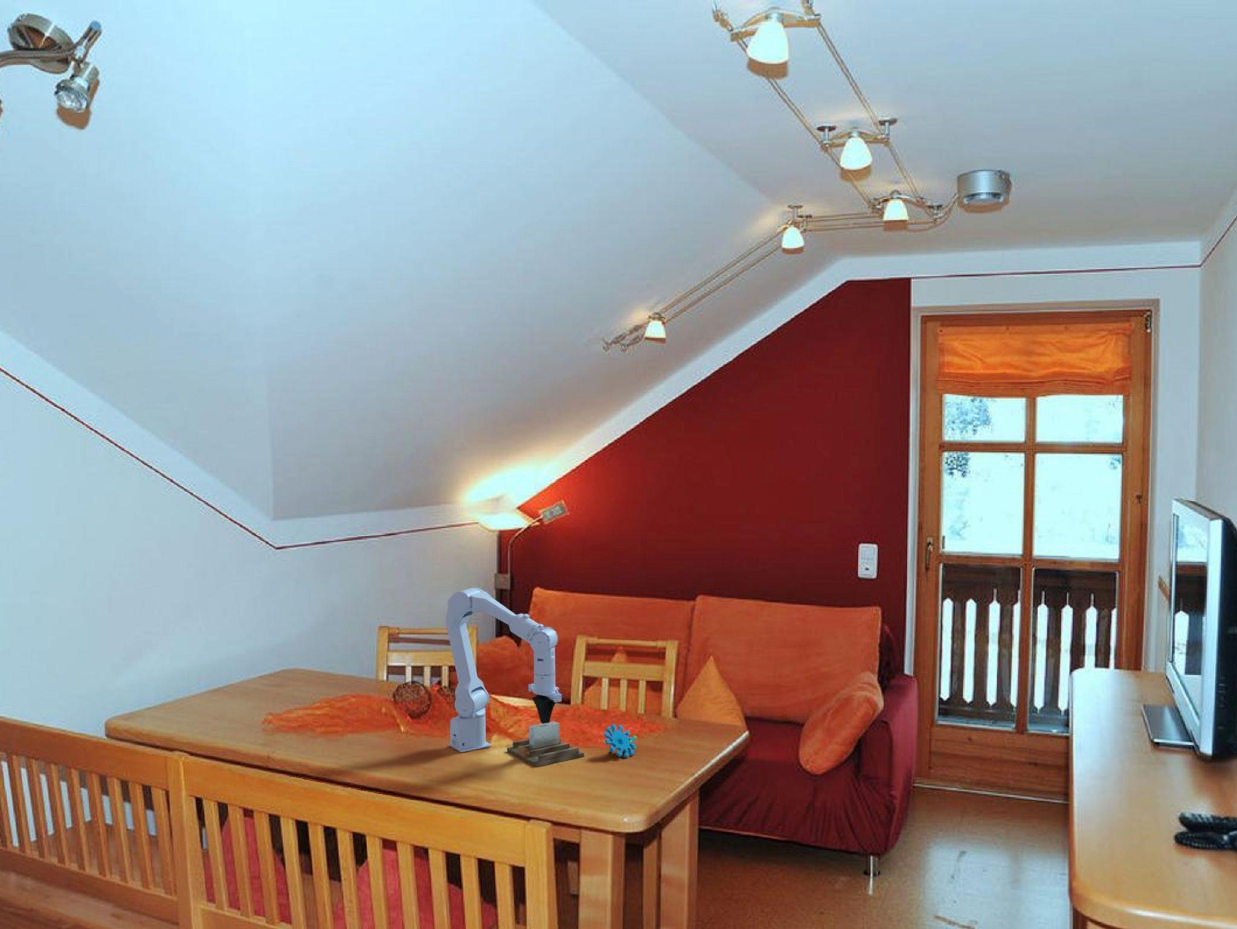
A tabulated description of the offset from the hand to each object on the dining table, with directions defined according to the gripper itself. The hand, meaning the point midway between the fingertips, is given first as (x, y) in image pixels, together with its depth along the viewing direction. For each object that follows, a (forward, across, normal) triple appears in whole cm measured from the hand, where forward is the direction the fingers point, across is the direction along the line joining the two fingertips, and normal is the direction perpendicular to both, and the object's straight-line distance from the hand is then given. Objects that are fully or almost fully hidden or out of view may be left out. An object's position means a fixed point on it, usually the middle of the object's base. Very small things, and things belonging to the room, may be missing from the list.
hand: (545, 722), depth 283 cm
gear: (+9, -12, -17) cm, 23 cm away
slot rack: (+9, 0, 0) cm, 9 cm away
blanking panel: (+8, 0, 0) cm, 8 cm away
